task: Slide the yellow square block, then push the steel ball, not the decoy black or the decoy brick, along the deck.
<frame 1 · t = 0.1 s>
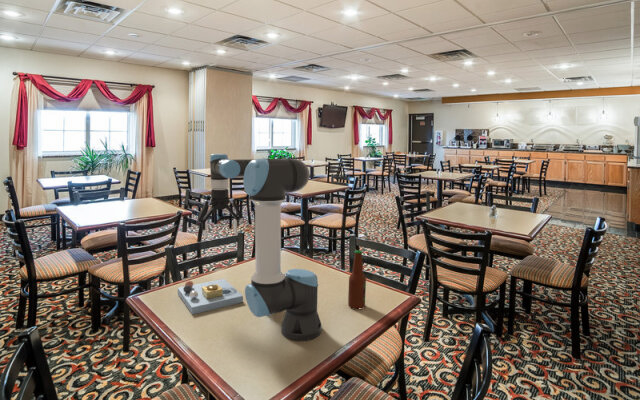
hand: (220, 235, 168), 28 cm above the table, fingers open, 13 cm apart
bottle: (356, 306, 161), on the table
decoy black: (187, 292, 165), point 3 cm above the table, touching deck
steel ball: (193, 298, 159), point 3 cm above the table, touching deck
coffee cup: (264, 304, 162), on the table
deck: (209, 298, 167), on the table
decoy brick: (189, 288, 170), point 3 cm above the table, touching deck
yellow square block: (212, 290, 163), point 5 cm above the table, slide at 0.0 cm
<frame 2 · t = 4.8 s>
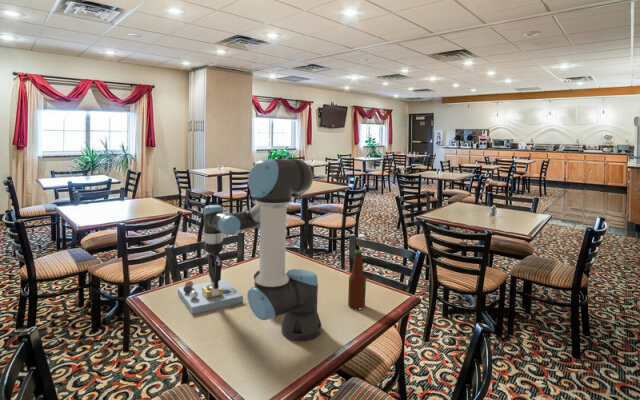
hand: (215, 294, 160), 5 cm above the table, fingers closed
yellow square block: (212, 290, 163), point 5 cm above the table, slide at 0.0 cm, touching gripper
everything else where it was.
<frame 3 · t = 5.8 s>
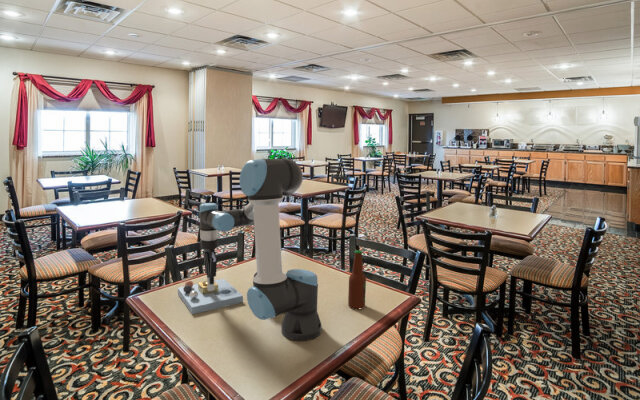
hand: (211, 290, 164), 5 cm above the table, fingers closed
yellow square block: (208, 286, 168), point 5 cm above the table, slide at 5.9 cm, touching gripper
everything else where it was.
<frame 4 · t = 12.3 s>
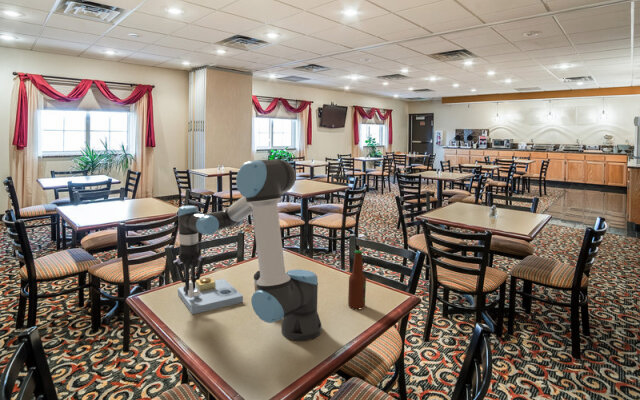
hand: (190, 296, 158), 4 cm above the table, fingers closed
steel ball: (194, 298, 159), point 3 cm above the table, tilted 33°, touching gripper
yellow square block: (205, 283, 171), point 5 cm above the table, slide at 9.7 cm
everything else where it was.
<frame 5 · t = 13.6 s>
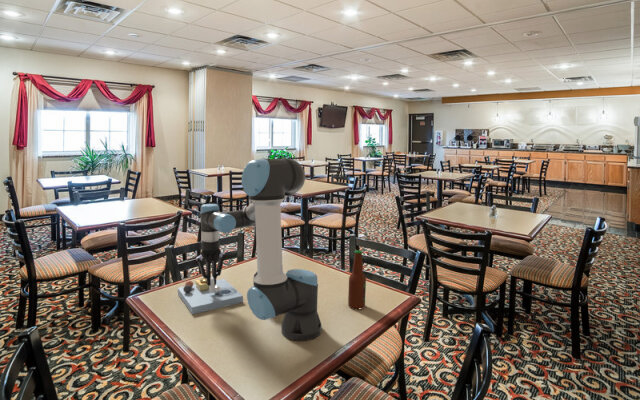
hand: (211, 291, 163), 4 cm above the table, fingers closed
steel ball: (220, 289, 165), point 5 cm above the table, tilted 86°, touching deck, gripper
everything else where it was.
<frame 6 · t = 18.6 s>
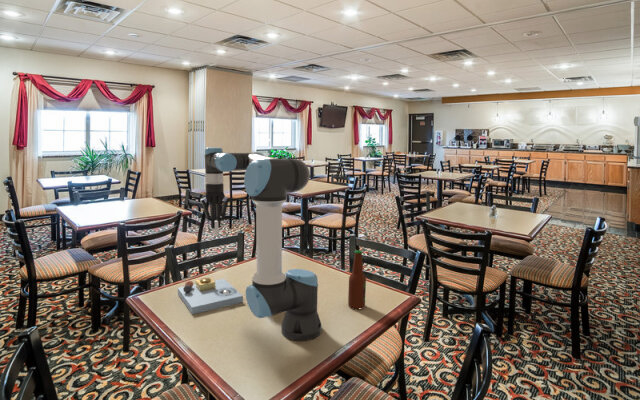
hand: (216, 235, 166), 28 cm above the table, fingers closed
steel ball: (222, 296, 166), point 1 cm above the table, tilted 67°
everything else where it was.
at the end: steel ball 1.4 cm from the target spot on the deck, point 1.1 cm above the deck's base; yellow square block slide at 9.7 cm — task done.
